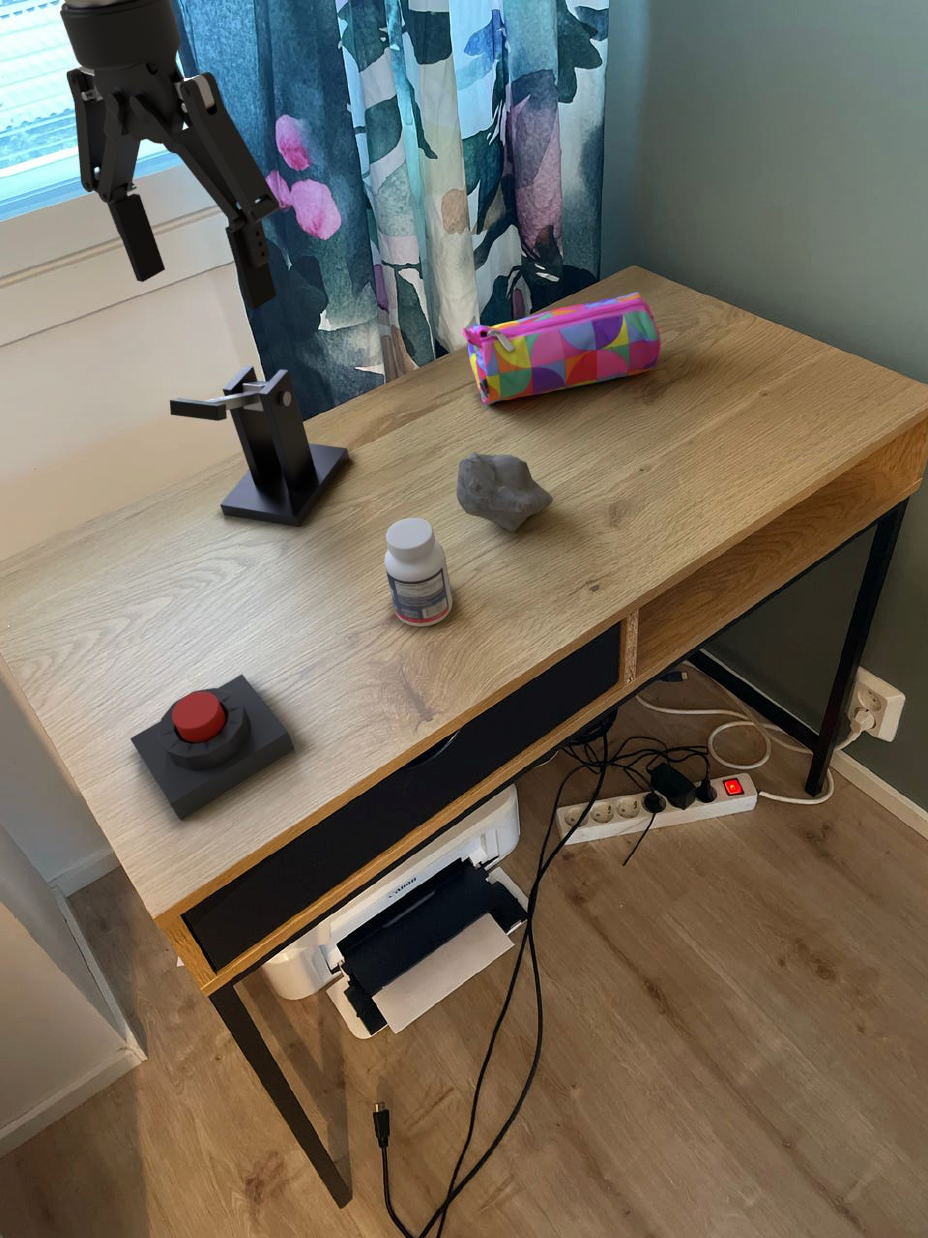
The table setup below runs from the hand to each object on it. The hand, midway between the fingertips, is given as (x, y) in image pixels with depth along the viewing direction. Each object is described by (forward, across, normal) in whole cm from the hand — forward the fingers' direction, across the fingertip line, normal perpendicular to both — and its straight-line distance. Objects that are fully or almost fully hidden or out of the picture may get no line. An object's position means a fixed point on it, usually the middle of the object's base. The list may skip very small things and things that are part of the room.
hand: (204, 288), depth 77 cm
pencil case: (+24, -16, -33) cm, 43 cm away
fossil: (+24, -23, -9) cm, 34 cm away
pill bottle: (+24, -23, +5) cm, 33 cm away
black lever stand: (+24, +1, -3) cm, 24 cm away
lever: (+12, 0, +1) cm, 12 cm away
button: (+20, -18, +26) cm, 37 cm away
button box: (+24, -18, +26) cm, 39 cm away
